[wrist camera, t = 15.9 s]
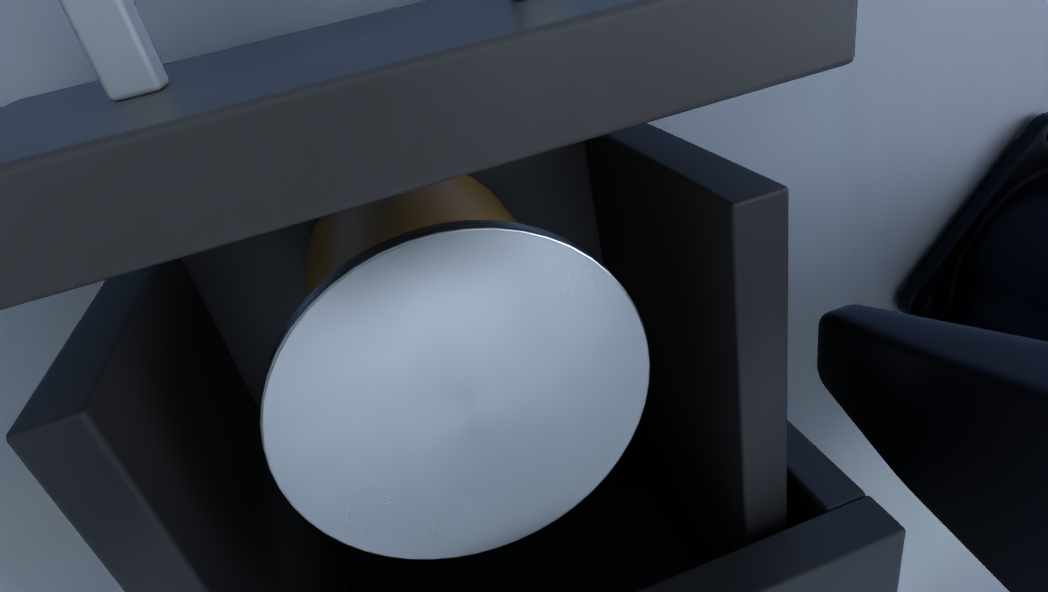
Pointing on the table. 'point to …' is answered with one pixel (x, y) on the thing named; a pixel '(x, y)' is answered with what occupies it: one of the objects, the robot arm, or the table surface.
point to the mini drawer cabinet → (809, 539)
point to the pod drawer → (374, 174)
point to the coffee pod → (449, 376)
